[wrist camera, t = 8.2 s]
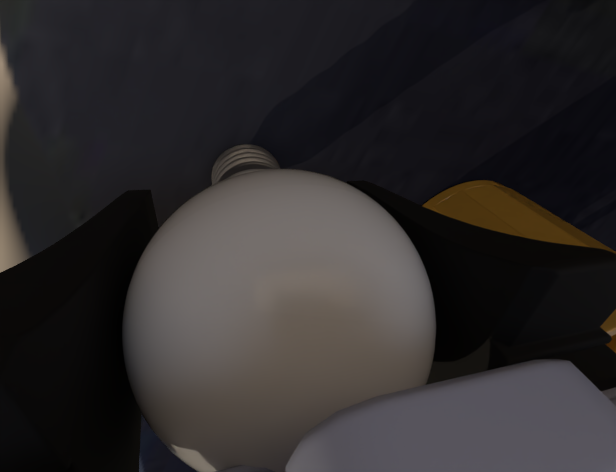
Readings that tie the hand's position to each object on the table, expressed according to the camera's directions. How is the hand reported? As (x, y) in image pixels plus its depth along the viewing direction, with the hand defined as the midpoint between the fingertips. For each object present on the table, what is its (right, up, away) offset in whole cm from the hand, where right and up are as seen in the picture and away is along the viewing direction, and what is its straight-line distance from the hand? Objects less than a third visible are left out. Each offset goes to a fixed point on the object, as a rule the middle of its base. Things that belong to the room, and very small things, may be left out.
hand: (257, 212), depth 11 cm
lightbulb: (-1, +2, +3) cm, 4 cm away
